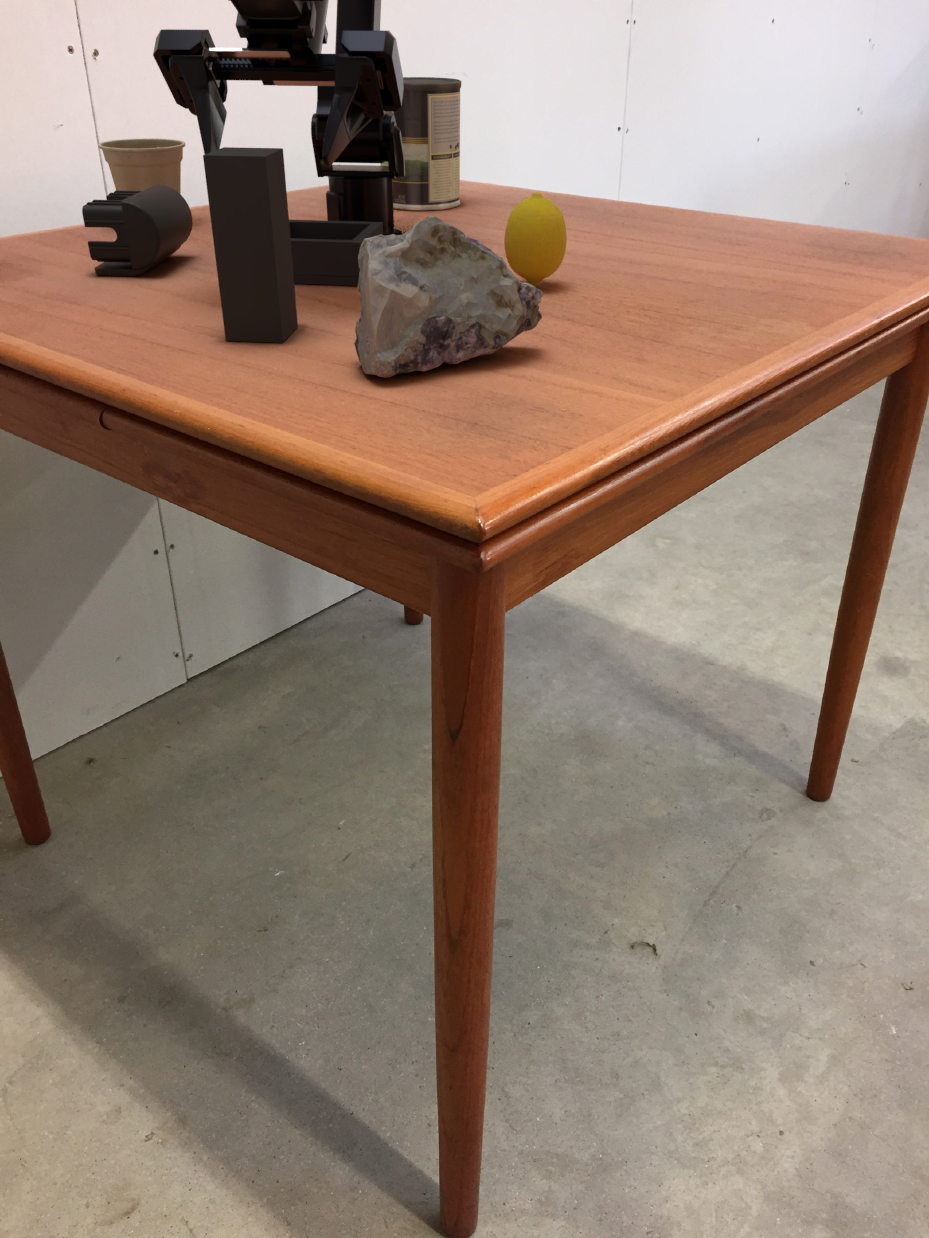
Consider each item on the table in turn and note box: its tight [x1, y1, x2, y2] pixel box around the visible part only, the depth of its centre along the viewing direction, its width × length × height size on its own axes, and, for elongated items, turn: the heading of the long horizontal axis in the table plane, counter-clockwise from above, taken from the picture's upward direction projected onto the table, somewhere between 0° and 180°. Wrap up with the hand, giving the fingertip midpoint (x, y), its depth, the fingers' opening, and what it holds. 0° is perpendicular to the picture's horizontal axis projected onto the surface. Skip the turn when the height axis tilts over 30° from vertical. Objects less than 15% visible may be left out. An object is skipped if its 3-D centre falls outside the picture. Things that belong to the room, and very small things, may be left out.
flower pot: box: [97, 137, 186, 195], centre depth 114 cm, size 9×9×9 cm
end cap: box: [81, 184, 194, 277], centre depth 97 cm, size 10×7×7 cm
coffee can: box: [380, 76, 462, 212], centre depth 125 cm, size 10×10×14 cm
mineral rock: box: [353, 215, 544, 378], centre depth 69 cm, size 13×11×10 cm
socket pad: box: [289, 219, 383, 287], centre depth 95 cm, size 10×10×4 cm
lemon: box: [503, 191, 568, 287], centre depth 90 cm, size 6×6×8 cm
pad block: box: [202, 146, 299, 344], centre depth 75 cm, size 4×4×13 cm
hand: (267, 162), depth 77 cm, fingers open, 9 cm apart
